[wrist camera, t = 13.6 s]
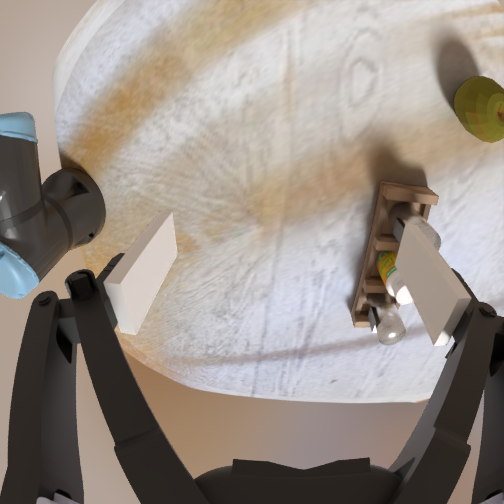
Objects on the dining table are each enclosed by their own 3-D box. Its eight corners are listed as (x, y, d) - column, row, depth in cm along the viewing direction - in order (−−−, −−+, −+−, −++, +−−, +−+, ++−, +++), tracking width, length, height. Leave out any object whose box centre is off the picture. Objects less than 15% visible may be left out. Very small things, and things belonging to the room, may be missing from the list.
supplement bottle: (383, 242, 46) (402, 276, 38) (408, 250, 46) (429, 283, 38) (370, 268, 49) (385, 305, 41) (395, 275, 49) (412, 310, 41)
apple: (453, 64, 30) (494, 65, 21) (492, 95, 31) (534, 104, 21) (436, 116, 35) (475, 128, 26) (476, 143, 36) (516, 162, 26)
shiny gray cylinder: (382, 227, 45) (403, 260, 36) (388, 199, 42) (412, 228, 34) (410, 229, 44) (435, 261, 36) (417, 203, 42) (444, 231, 33)
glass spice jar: (361, 306, 53) (372, 345, 45) (367, 287, 51) (380, 325, 42) (386, 307, 53) (400, 344, 45) (393, 287, 51) (409, 324, 42)
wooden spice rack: (350, 313, 56) (354, 327, 52) (380, 181, 42) (388, 189, 38) (390, 313, 55) (396, 326, 52) (428, 187, 41) (438, 196, 38)
